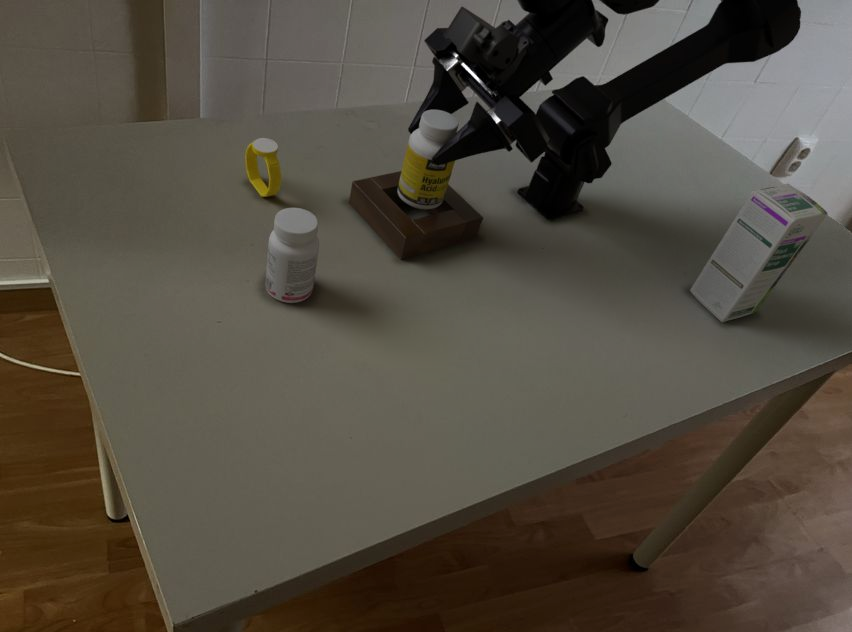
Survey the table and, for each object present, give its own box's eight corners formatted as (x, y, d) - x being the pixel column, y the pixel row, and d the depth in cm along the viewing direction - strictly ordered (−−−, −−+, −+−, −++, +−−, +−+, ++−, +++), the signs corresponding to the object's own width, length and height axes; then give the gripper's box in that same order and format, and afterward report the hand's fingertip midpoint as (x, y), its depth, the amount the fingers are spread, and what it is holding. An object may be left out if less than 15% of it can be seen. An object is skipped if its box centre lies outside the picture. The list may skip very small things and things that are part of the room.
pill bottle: (319, 282, 73) (330, 215, 67) (301, 310, 69) (310, 243, 63) (277, 266, 73) (284, 198, 67) (256, 293, 70) (261, 224, 64)
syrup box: (722, 324, 81) (798, 221, 70) (686, 290, 84) (754, 186, 74) (754, 314, 83) (832, 213, 73) (718, 281, 86) (788, 180, 76)
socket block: (422, 185, 89) (428, 165, 87) (476, 238, 83) (483, 217, 81) (348, 202, 83) (352, 181, 81) (400, 260, 78) (406, 238, 76)
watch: (238, 177, 83) (240, 131, 78) (259, 173, 84) (262, 127, 80) (262, 207, 80) (266, 160, 75) (284, 202, 81) (289, 156, 77)
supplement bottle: (414, 215, 78) (434, 136, 71) (387, 188, 81) (404, 109, 74) (452, 205, 81) (475, 128, 74) (425, 179, 84) (445, 102, 77)
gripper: (461, -56, 71) (346, 55, 75) (566, 29, 61) (426, 154, 64) (503, 22, 80) (398, 118, 83) (601, 108, 69) (476, 214, 73)
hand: (421, 147), depth 76 cm, fingers closed on supplement bottle, 5 cm apart
